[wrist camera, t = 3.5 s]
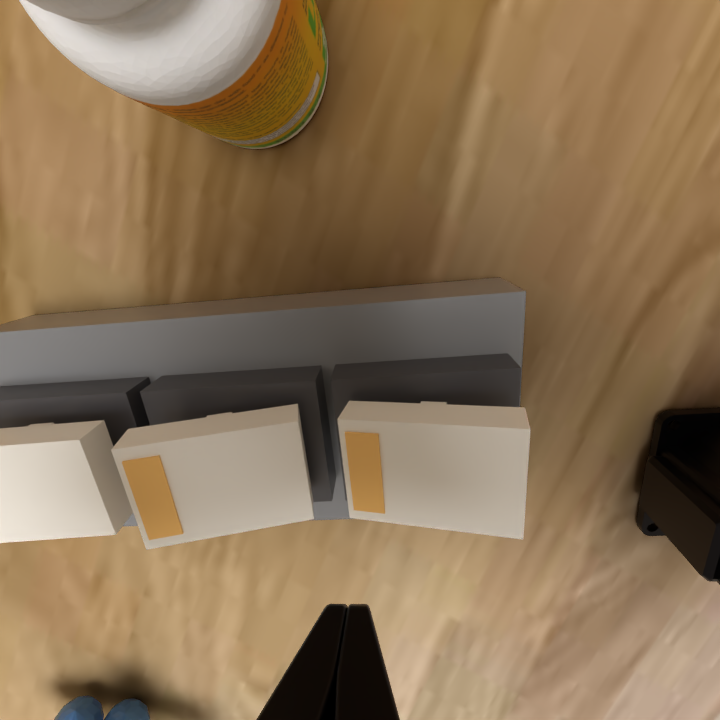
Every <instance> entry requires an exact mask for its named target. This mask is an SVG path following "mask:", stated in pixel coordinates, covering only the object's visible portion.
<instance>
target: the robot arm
mask: <svg viewBox="0 0 720 720" xmlns="http://www.w3.org/2000/svg"><path fill="white" fill-rule="evenodd" d="M673 420H674V421H673ZM671 421H673V423H672V424H671V425H668V424H669V422H671ZM639 505H640V506H639V511H638V516H637V526H638V527H639V529H640V530H641V531H642V532H643V533H644V534H645V535H648V536H663V535H666V536H667V537H668V539H669V540H670V541H671V542H672V543H673V544H674V545H675V547H676V548H677V549H678V550H679V551H680V552H681V553H682V554H683V556H684V557H685V558H686V559H687V560H688V561H689V562H690V564H691V565H692V566H693V567H694V568H695V569H696V570H697V572H698V573H699V574H700V575H701V576H703V577H704V578H705V579H706V580H707V581H717V582H718V583H719V584H720V408H706V409H687V410H669V411H665V412H663V413H661V414H660V415H659V416H658V417H657V419H656V421H655V426H654V431H653V437H652V442H651V447H650V453H649V458H648V460H647V463H646V468H645V473H644V479H643V484H642V489H641V495H640V500H639ZM257 720H400V719H399V715H398V711H397V708H396V704H395V700H394V696H393V693H392V689H391V685H390V682H389V678H388V674H387V670H386V667H385V663H384V659H383V656H382V652H381V648H380V645H379V641H378V637H377V633H376V630H375V626H374V622H373V619H372V615H371V611H370V608H369V606H368V605H367V604H351V605H349V606H347V605H346V604H329V605H327V606H326V607H325V608H324V610H323V612H322V613H321V615H320V616H319V618H318V620H317V621H316V623H315V625H314V626H313V628H312V630H311V631H310V633H309V634H308V636H307V638H306V639H305V641H304V643H303V644H302V646H301V648H300V649H299V651H298V652H297V654H296V656H295V657H294V659H293V661H292V662H291V664H290V666H289V667H288V669H287V670H286V672H285V674H284V675H283V677H282V679H281V680H280V682H279V684H278V685H277V687H276V689H275V690H274V692H273V693H272V695H271V697H270V698H269V700H268V702H267V703H266V705H265V707H264V708H263V710H262V711H261V713H260V715H259V716H258V718H257Z"/></svg>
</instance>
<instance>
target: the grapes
mask: <svg viewBox="0 0 720 720" xmlns="http://www.w3.org/2000/svg"><path fill="white" fill-rule="evenodd" d="M103 718H104V713H103V709H102V705H101V703H100V702H99V701H98V700H96V699H95V698H93V697H91V696H79V697H77V698H75V699H73V700H72V701H70V702H69V703H67V704H66V705H65V706H64V707H63V708H62V709H61V710H60V712H59V713H58V715H57V716H56V717H55V719H54V720H103ZM104 720H150V715H149V712H148V708H147V706H146V705H145V704H144V703H142V702H141V701H140V700H137V699H134V698H132V699H125V700H123V701H121V702H120V703H118V704H116V705H115V706H114V707H113V708H112V709H111V710H110V712H109V713H108V715H107V716H106V718H105V719H104Z"/></svg>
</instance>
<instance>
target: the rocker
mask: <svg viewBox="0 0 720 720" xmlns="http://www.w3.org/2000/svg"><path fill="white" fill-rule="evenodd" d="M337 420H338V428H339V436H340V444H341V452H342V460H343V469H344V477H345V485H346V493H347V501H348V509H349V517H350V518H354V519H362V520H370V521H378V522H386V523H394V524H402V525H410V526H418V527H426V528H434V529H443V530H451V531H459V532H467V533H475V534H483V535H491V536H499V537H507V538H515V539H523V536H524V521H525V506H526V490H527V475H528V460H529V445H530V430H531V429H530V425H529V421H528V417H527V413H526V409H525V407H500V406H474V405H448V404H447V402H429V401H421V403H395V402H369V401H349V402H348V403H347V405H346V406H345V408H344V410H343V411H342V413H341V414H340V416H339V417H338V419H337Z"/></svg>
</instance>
